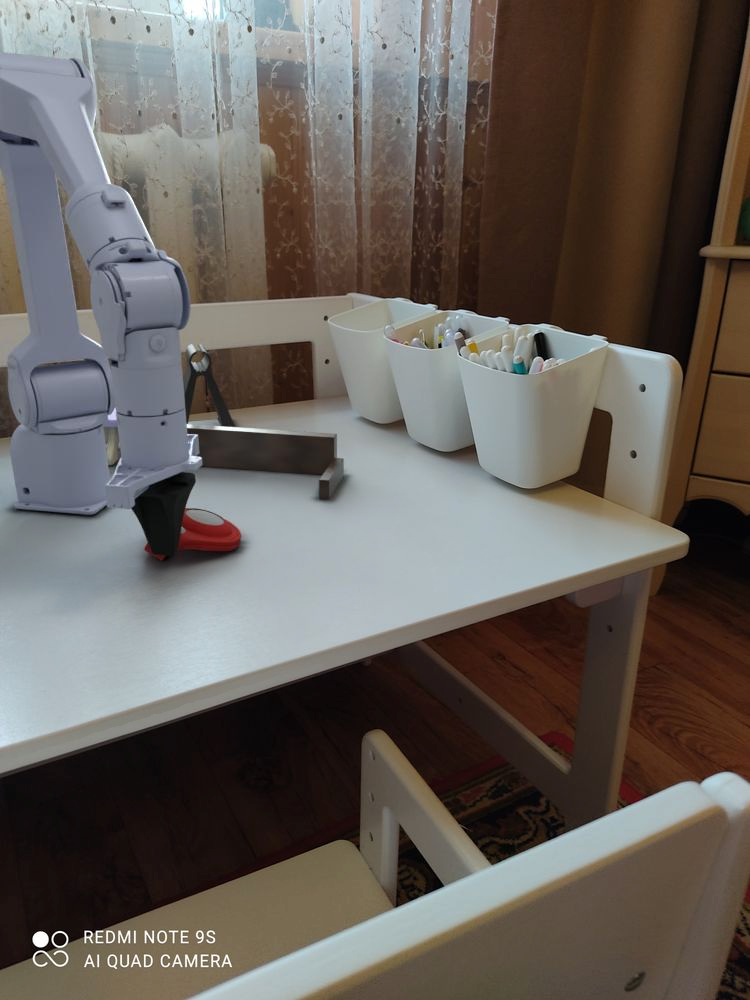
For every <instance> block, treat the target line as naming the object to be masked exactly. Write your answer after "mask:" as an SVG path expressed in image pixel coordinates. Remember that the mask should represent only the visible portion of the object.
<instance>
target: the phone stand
mask: <svg viewBox="0 0 750 1000" xmlns="http://www.w3.org/2000/svg"><path fill="white" fill-rule="evenodd" d="M197 346H198V348H199V350H200V351H201V353H202V354H203V357H202V358H201V360H200V361H198V362H196V361H194V362H193V361H192V359H193V357H194V356H196V355H197V352H198V351H197V350H196V348H195V347H194V345H193V343H190V344H189V345H188V346H187V347H186V349H185V352H184V353H185V358H186V367H185V370H184V374H183V385H184V397H185V410H186V423H187V424H192V425H208V426H223V427H236V425H235V422H234V420H233V417H232V416H231V414H230V411H229V409H228V406H227V405H226V402H225V400H224V398H223V395H222V394H221V391H220V389H219V387H218V384H217V382H216V379H215V378H214V375H213V373H212V359H211V356H210V354H209V353H208V351H207V350H206V348H205V346H203V344H201V343H198V344H197ZM201 376H203V378H204V380H205V384H206V386H207V389H208V391H209V395H210V398H211V402H212V403H213V406H214V409H215V413H216V415H217V418H216V419H203V420H192V421H191V420H190V415H191V411H192V405H193V399H194V395H195V389H196V384H197V379H198V378H199V377H201Z"/></svg>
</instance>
